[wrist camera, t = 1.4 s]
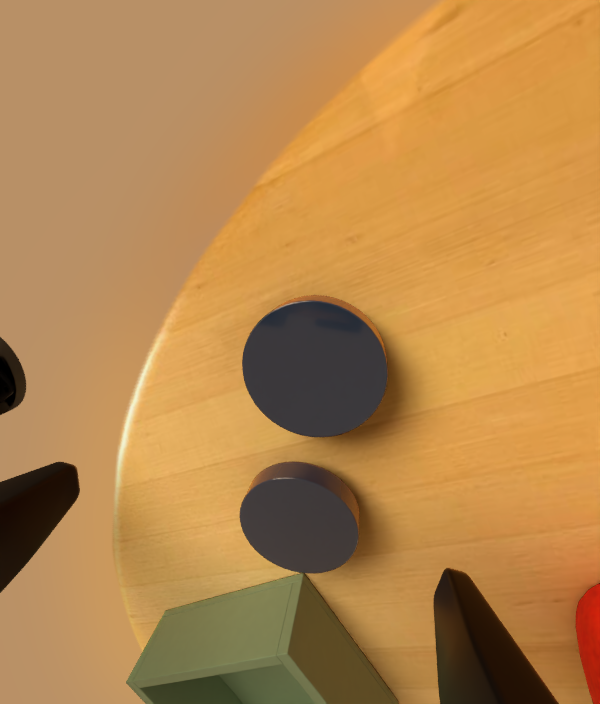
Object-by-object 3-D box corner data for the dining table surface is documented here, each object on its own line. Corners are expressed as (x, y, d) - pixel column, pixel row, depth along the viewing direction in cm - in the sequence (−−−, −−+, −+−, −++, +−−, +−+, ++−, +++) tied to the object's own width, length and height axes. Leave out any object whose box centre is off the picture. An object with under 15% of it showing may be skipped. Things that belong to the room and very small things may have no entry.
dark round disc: (299, 431, 20) (290, 456, 18) (234, 332, 19) (214, 346, 17) (410, 382, 18) (415, 403, 16) (342, 265, 17) (338, 270, 14)
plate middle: (289, 550, 24) (280, 584, 21) (233, 473, 23) (217, 500, 20) (380, 522, 21) (381, 557, 19) (323, 434, 20) (316, 460, 18)
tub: (256, 716, 32) (236, 800, 27) (165, 610, 29) (125, 682, 24) (398, 701, 27) (404, 800, 22) (303, 572, 24) (287, 653, 19)
